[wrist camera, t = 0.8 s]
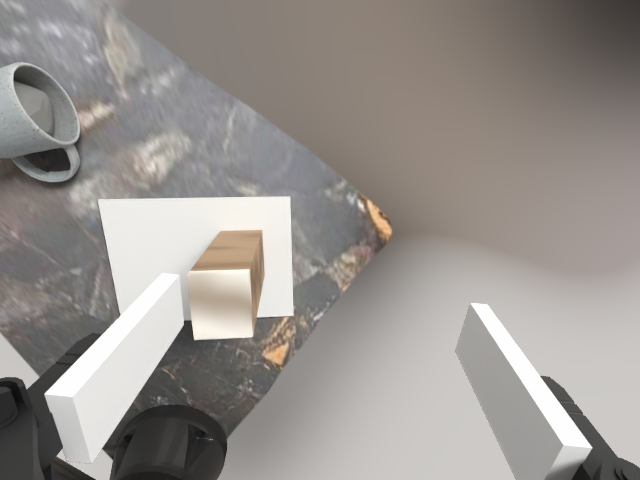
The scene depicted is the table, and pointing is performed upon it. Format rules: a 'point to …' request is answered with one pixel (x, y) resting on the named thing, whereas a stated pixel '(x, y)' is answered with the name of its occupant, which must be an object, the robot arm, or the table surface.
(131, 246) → the white mat
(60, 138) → the ceramic mug
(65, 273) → the table surface
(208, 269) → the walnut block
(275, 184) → the table surface
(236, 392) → the table surface
